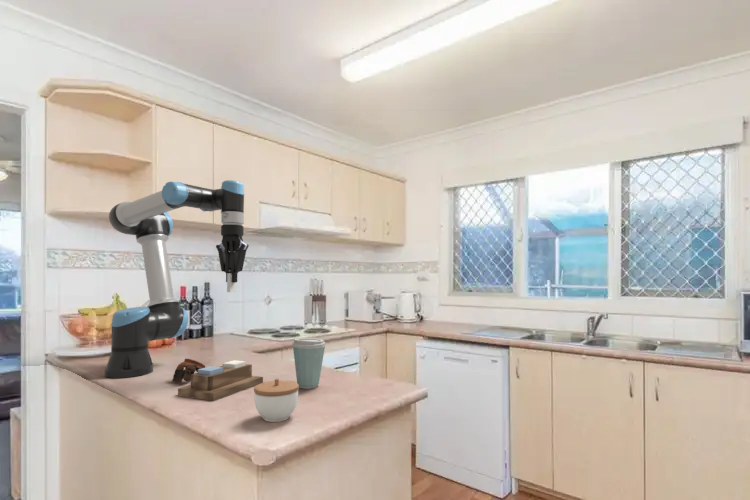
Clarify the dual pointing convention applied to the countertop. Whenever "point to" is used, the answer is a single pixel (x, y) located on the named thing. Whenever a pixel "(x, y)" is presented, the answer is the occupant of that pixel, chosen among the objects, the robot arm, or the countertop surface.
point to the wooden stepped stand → (220, 383)
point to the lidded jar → (276, 399)
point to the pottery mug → (186, 370)
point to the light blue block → (210, 370)
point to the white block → (234, 364)
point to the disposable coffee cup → (308, 361)
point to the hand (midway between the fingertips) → (231, 291)
